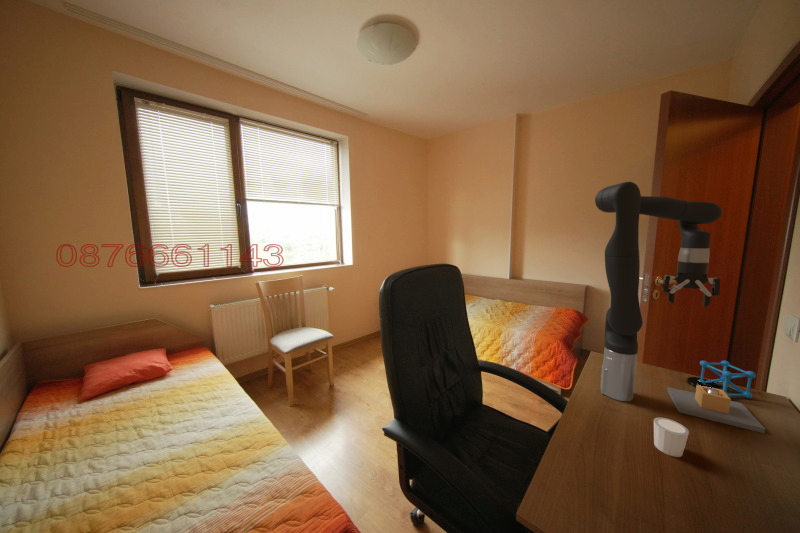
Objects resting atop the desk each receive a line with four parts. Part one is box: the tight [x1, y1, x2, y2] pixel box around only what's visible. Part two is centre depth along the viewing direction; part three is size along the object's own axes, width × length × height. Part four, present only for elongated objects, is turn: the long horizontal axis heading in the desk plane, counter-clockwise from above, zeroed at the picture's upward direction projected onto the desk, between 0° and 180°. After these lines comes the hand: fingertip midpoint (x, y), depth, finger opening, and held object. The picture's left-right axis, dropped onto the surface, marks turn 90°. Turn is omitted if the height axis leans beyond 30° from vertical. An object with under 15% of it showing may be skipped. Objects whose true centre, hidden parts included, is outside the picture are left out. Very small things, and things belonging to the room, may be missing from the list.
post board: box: [666, 386, 766, 434], centre depth 90 cm, size 18×14×2 cm
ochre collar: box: [695, 384, 732, 414], centre depth 90 cm, size 6×6×5 cm
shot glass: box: [653, 417, 690, 458], centre depth 74 cm, size 7×7×7 cm
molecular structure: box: [697, 360, 757, 399], centre depth 99 cm, size 10×10×10 cm
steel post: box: [707, 388, 719, 395], centre depth 90 cm, size 2×2×6 cm
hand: (687, 304), depth 100 cm, fingers open, 8 cm apart
